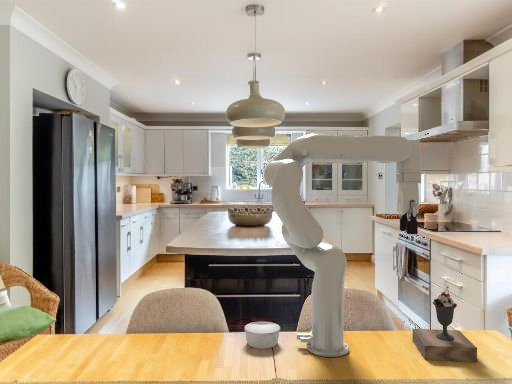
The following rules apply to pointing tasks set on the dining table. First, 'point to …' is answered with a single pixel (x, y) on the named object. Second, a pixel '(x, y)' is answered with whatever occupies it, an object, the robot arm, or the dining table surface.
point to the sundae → (444, 313)
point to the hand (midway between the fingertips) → (408, 232)
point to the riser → (444, 346)
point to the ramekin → (262, 334)
